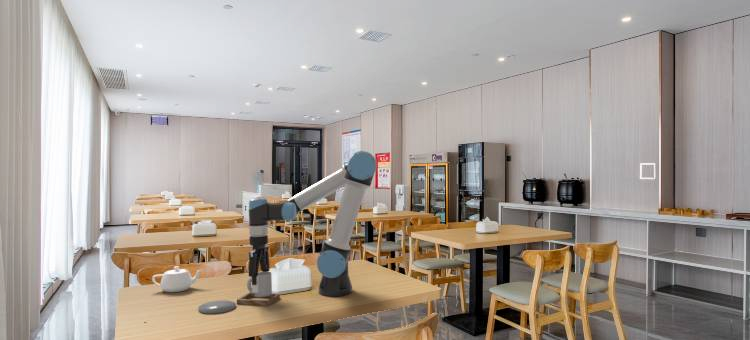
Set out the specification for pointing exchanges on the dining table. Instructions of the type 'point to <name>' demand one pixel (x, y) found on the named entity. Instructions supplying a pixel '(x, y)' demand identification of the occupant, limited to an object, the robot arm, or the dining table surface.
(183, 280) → the teapot
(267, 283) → the cup
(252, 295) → the brown wooden tray
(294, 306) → the dining table surface
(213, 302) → the coaster
